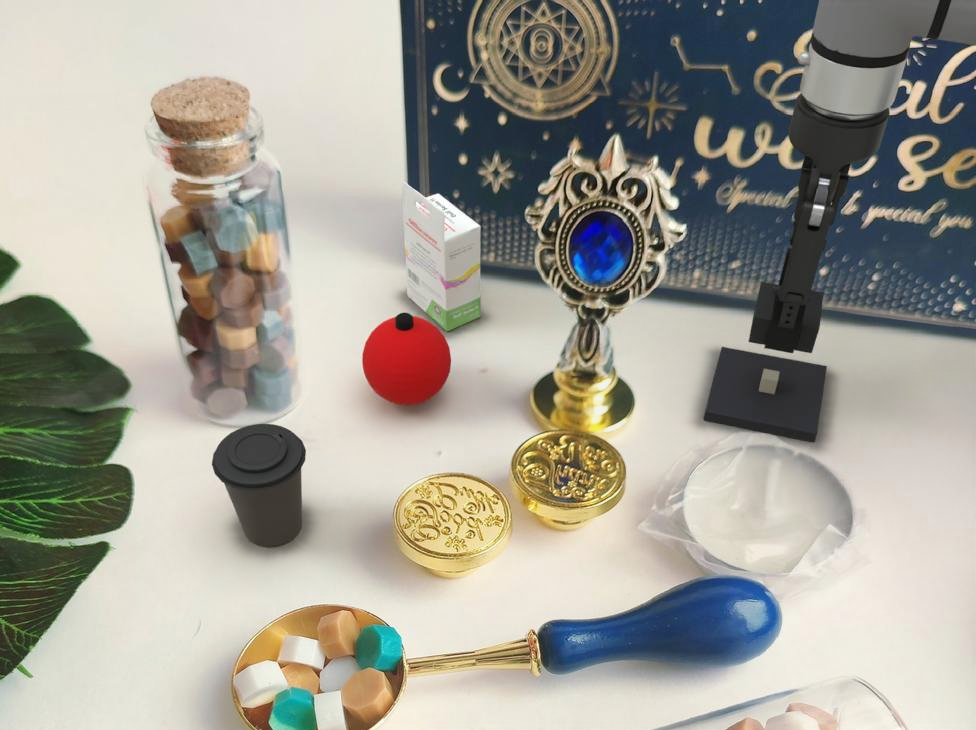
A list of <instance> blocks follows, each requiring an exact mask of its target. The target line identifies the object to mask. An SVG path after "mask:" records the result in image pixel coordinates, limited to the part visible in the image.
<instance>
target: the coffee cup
mask: <svg viewBox="0 0 976 730" xmlns="http://www.w3.org/2000/svg"><path fill="white" fill-rule="evenodd" d="M306 454H307V449H306V446H305V445H304V442H303V440H302V439H301V438H300V437H299V436H298V435H297V434H296V433H295V432H293V431H292V430H290V429H288V428H286V427H284V426H281V425H278V424H273V423H256V424H250V425H246V426H243V427H240V428H238V429H235V430H234V431H232V432H231V433H228V434H227V435H226V436H225V437H223V439H222V440H221V441H220V442H219V444H218V445H217V447H216V449H215V451H214V452H213V454H212V461H211V466H212V470H213V473H214V475H215V476H216V477H217V478H218V479H219V480H220V482H221V483H223V484H224V486H225V489H226V491H227V493H228V496H229V498H230V502H231V503H232V505H233V508H234V511H235V514H236V515H237V518H238V520H239V523H240V526H241V527H242V530H243V533H244V535H245V537H246V538H247V539H248V541H249V542H251V543H253V544H254V545H256V546H259V547H263V548H277V547H280V546H284V545H286V544H288V543H290V542H292V541H293V540H294V539H296V537H297V536H298V535H299V534H300V533H301V530H302V526H303V501H302V500H303V496H302V495H303V493H302V491H303V488H302V487H303V486H302V485H303V483H302V467H303V466H304V463H305V462H306Z"/></svg>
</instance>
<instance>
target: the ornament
mask: <svg viewBox="0 0 976 730" xmlns="http://www.w3.org/2000/svg"><path fill="white" fill-rule="evenodd" d="M450 348H451V347H450V346H449V344H448V340H447V339H446V337H445V335H444V334H443V333H442V331H441V330H440V329H439V328H438V327H437V326H436V325H434V324H433V323H432V322H430V321H429V320H427V319H425V318H422V317H419V316H414V315H412V314H411V313H409V312H400V313H398V314H397V315H396V316H394V317H391V318H388V319H386V320H384V321H382V322H381V323H379V325H377V326H376V327H375V328H374V329H373V330H372V331H371V333H369V336H368V338H367V339H366V341H365V343H364V347H363V350H362V357H361V358H362V360H361V362H362V370H363V374H364V376H365V379H366V382H368V385H369V386H370V387H371V389H372V390H373V391H374V392H375V393H376V394H377V395H378V396H379V397H381V398H382V399H383V400H386V401H388V402H389V403H392V404H395V405H400V406H414V405H419V404H422V403H425V402H427V401H428V400H430V399H432V398H433V397H435V396H436V395H437V394H438V393H439V392H441V390H442V388H443V387H444V386H445V384H446V382H447V380H448V378H449V375H450V373H451V367H452V356H451V349H450Z"/></svg>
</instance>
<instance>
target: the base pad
mask: <svg viewBox="0 0 976 730" xmlns="http://www.w3.org/2000/svg"><path fill="white" fill-rule="evenodd" d="M827 368H828V367H827V365H823V364H818V363H812V362H806V361H801V360H796V359H790V358H784V357H779V356H774V355H768V354H764V353H758V352H753V351H747V350H741V349H736V348H732V347H726V346H721V348H720V352H719V356H718V360H717V364H716V368H715V372H714V375H713V378H712V379H713V380H712V384H711V387H710V390H709V395H708V399H707V402H706V406H705V411H704V415H703V421H705V422H711V423H717V424H719V425H720V424H721V425H725V426H729V427H736V428H740V429H745V430H751V431H755V432H759V433H765V434H769V435H776V436H780V437H786V438H791V439H795V440H800V441H806V442H811V443H815V442H816V438H817V436H818V431H819V429H818V428H819V423H820V416H821V409H822V402H823V395H824V388H825V381H826V374H827Z"/></svg>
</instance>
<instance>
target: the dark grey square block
mask: <svg viewBox="0 0 976 730" xmlns="http://www.w3.org/2000/svg"><path fill="white" fill-rule="evenodd" d="M773 286H779V287H780V286H781V285H779V284H777V283H772V282H765V281H761V282H760V285H759V290H758V293H757V298H756V301H755V306H754V311H753V315H752V320H751V327H750V331H749V338H748V343H752V344H756V345H763V346H765V342H766V339H767V335H768V331H769V327H770V323H771V319H772V315H773V311H774V307H775V303H776V300H777V296H778V295H774V294H772V289H773ZM824 294H825V293H824V292H823V291H817V290H814V289H813V290H812V289H811V293H810V297H811V298H810V302H808V305H807V306H806V309H805V313H804V316H803V320H802V323H801V327H800V330H799V334H798V338H797V341H796V345H795V348H794V351H797V352H802V353H808V354H812V353H813V351H814V347H815V343H816V341H817V338H818V334H819V331H820V328H821V320H822V311H823V302H824Z"/></svg>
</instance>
